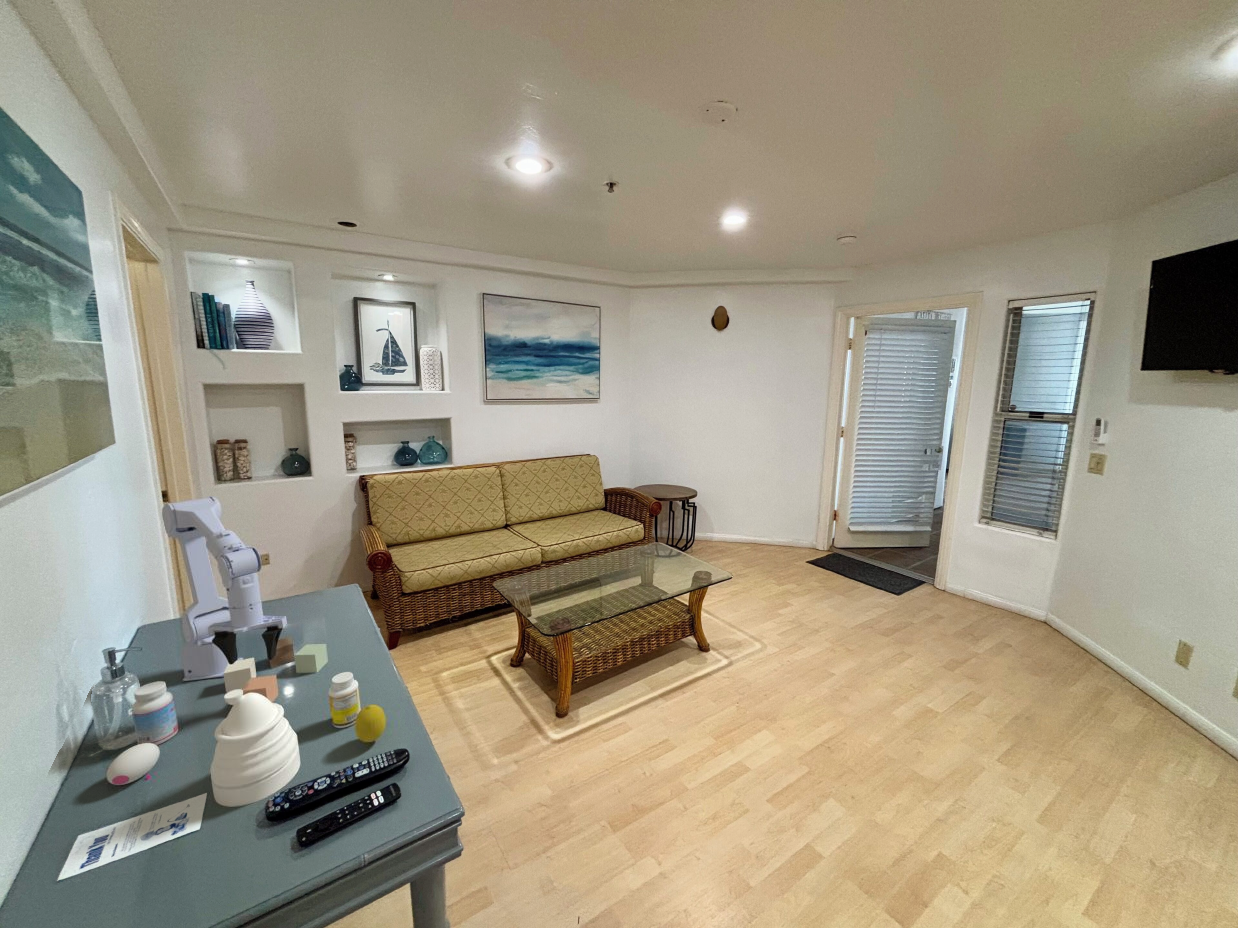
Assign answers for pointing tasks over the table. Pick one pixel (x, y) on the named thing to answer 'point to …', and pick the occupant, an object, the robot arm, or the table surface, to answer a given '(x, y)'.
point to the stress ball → (133, 764)
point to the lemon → (370, 723)
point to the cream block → (239, 674)
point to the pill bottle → (154, 714)
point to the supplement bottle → (344, 700)
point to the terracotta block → (262, 687)
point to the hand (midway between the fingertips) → (253, 659)
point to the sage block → (311, 658)
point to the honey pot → (252, 751)
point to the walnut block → (283, 653)
